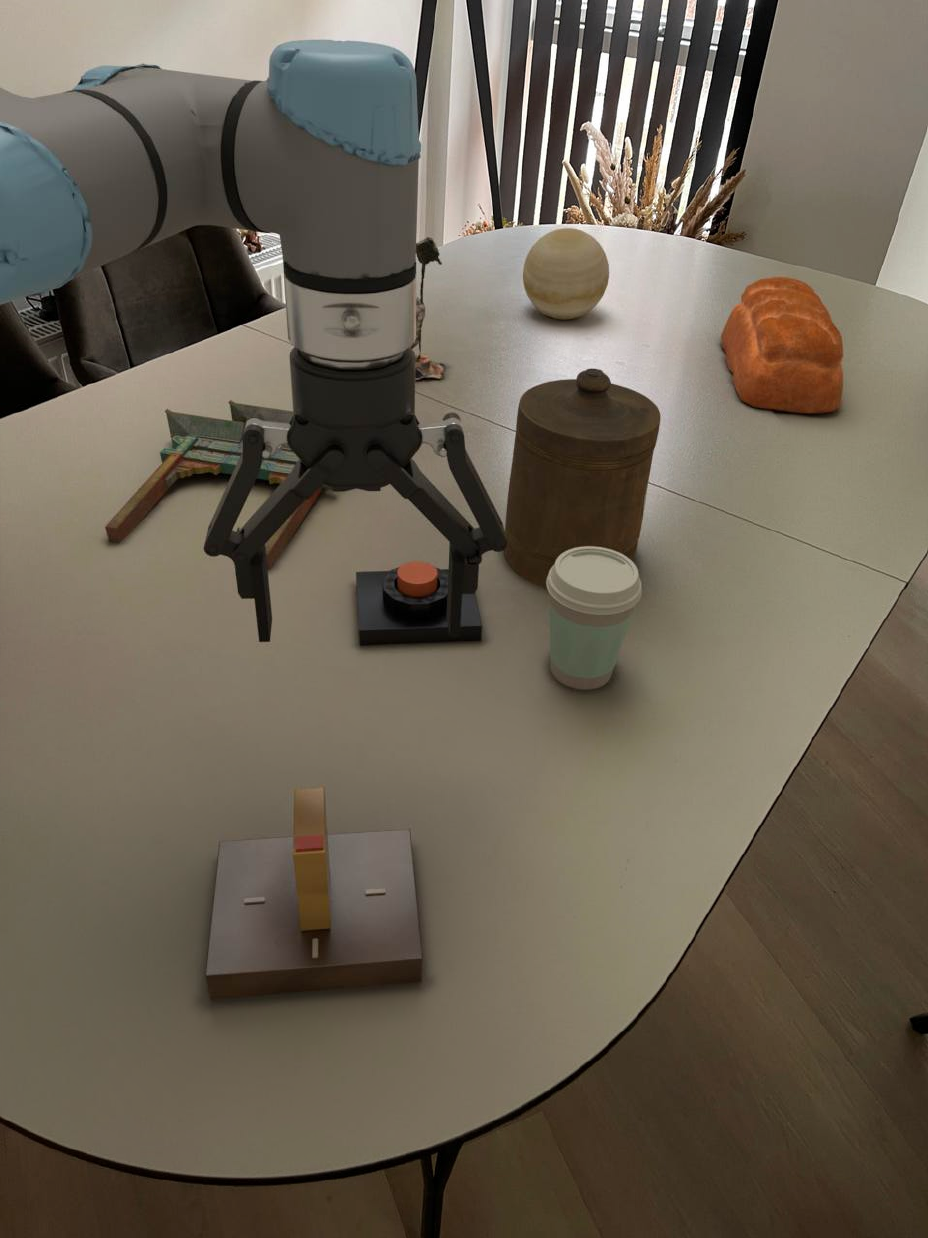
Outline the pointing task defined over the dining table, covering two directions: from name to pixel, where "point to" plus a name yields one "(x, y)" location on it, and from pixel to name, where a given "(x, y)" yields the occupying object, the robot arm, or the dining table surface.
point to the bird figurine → (423, 365)
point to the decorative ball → (566, 273)
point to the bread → (784, 348)
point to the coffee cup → (589, 613)
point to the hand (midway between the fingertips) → (360, 628)
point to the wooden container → (578, 471)
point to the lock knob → (311, 858)
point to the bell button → (417, 579)
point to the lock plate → (314, 959)
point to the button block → (409, 612)
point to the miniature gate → (212, 467)
